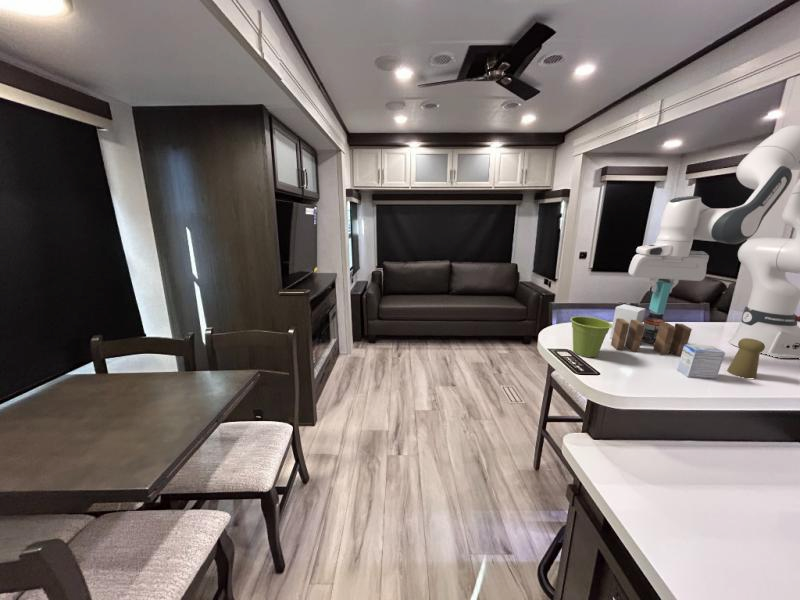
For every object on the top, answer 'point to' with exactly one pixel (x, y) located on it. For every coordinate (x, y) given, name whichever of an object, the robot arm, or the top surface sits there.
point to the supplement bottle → (651, 327)
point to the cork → (746, 358)
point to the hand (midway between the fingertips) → (660, 292)
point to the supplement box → (627, 315)
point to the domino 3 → (660, 297)
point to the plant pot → (588, 335)
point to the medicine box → (700, 361)
